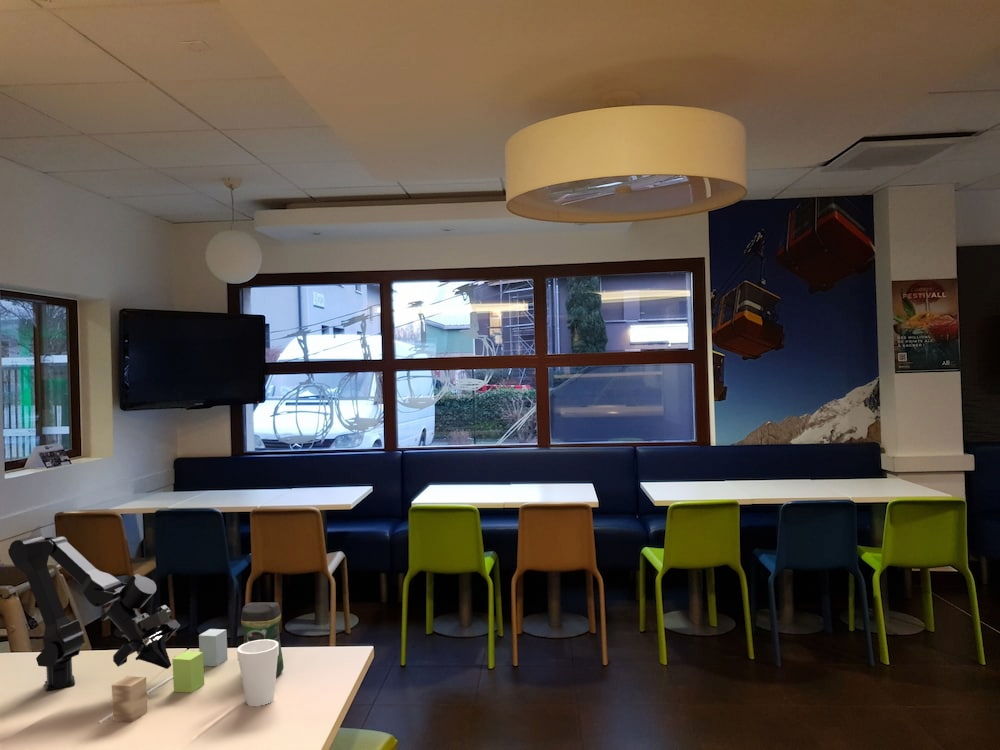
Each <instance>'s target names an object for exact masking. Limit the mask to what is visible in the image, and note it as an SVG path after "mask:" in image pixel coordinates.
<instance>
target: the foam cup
mask: <svg viewBox="0 0 1000 750" xmlns="http://www.w3.org/2000/svg"><path fill="white" fill-rule="evenodd" d="M236 651H237V662H238V664H239V669H240V675H241V682H242V687H243V691H244V698H245V701H246V705H247V704H248V705H247V706H249V707H253V706H256V707H262V706H261V705H263V706H266V705H265V704H267V705H269V704H270V702H271V703H273V702H274V700H275V692H276V682H277V681H276V679H277V676H276V670H277V659H278V655H279V643H278V642H277V641H275V640H269V639H265V640H255V641H250V642H247V643H245V642H244V643H243V644H241V645H239V646H238V647H237V650H236ZM268 703H269V704H268Z"/></svg>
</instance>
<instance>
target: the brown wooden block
mask: <svg viewBox="0 0 1000 750" xmlns="http://www.w3.org/2000/svg"><path fill="white" fill-rule="evenodd" d="M147 691H148V690H147V677H144V676H135V675H134V676H133V675H132V676H131V675H126V676H125V677H124V678H122V679H120V680H118V681H116V682H115V683H113V684H111V697H112V700H111V701H112V702H111V703H112V713H113V717H112V719H113V720H112V721H115V722H128V723H129V722H130V723H133V722H135V721H136V720H138V719H140V718H141V717H142V716H144V715H146V714H147V713H148V709H149V707H148V695H147Z"/></svg>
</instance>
